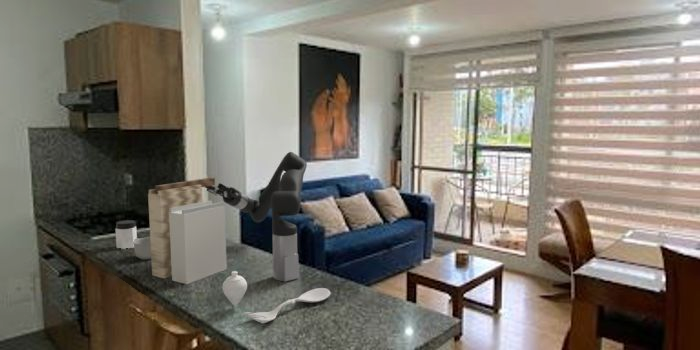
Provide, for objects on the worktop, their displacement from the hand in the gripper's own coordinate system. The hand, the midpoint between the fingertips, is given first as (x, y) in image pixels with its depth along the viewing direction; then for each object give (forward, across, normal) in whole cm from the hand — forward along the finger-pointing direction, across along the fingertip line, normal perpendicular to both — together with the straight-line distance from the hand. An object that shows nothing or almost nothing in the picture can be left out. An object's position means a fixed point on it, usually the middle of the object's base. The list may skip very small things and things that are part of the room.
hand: (211, 184), depth 198 cm
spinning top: (+14, +47, +46) cm, 67 cm away
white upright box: (0, +12, +37) cm, 39 cm away
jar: (-9, -50, +32) cm, 60 cm away
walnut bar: (+11, 0, +7) cm, 13 cm away
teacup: (-4, -27, +35) cm, 45 cm away
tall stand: (0, 0, +37) cm, 37 cm away
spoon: (+6, +63, +42) cm, 76 cm away
